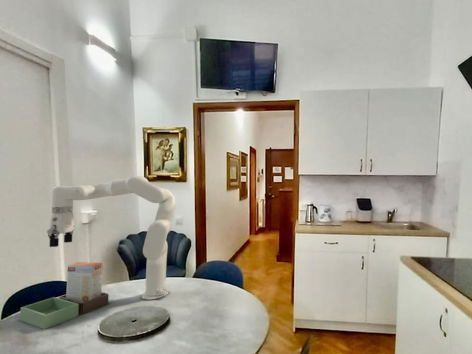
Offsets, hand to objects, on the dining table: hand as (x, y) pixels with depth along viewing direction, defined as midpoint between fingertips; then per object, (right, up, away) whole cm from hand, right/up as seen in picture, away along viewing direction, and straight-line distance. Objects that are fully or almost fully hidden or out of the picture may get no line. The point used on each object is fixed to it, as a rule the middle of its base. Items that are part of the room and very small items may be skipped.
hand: (61, 244), depth 126 cm
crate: (+11, -31, 0) cm, 33 cm away
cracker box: (+11, -31, 0) cm, 33 cm away
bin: (+6, -31, -12) cm, 33 cm away
